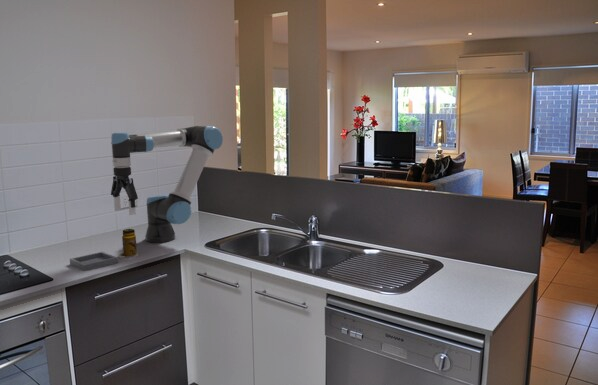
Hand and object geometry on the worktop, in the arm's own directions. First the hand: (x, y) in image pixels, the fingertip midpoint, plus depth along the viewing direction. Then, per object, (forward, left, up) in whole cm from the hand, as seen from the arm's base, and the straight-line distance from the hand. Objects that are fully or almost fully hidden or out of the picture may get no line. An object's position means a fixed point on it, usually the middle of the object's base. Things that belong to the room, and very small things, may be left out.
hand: (125, 212), depth 235 cm
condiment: (0, 0, -20) cm, 21 cm away
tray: (+17, +1, -20) cm, 26 cm away
